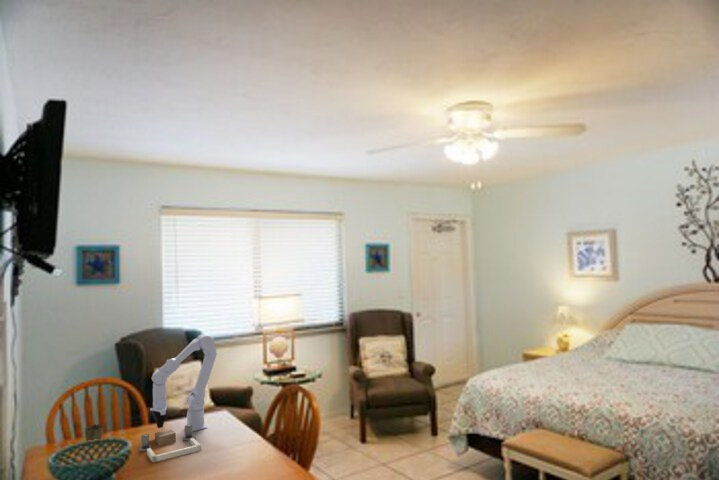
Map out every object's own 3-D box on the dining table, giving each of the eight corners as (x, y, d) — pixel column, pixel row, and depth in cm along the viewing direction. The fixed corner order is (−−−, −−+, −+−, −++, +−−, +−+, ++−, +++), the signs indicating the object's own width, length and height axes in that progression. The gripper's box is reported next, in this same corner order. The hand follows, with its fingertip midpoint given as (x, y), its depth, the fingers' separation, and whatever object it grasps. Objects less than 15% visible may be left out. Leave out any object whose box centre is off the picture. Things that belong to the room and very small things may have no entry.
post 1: (138, 449, 203) (137, 435, 203) (150, 446, 205) (150, 432, 206) (140, 452, 198) (139, 438, 199) (152, 449, 201) (152, 435, 202)
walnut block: (154, 442, 211) (154, 433, 211) (170, 438, 216) (170, 429, 216) (159, 446, 206) (159, 436, 206) (175, 441, 210) (175, 432, 210)
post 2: (181, 439, 213) (181, 425, 213) (192, 436, 216) (192, 422, 216) (184, 442, 209) (184, 428, 209) (196, 439, 212) (195, 425, 212)
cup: (80, 447, 209) (80, 428, 209) (94, 441, 216) (94, 423, 216) (94, 448, 207) (93, 429, 207) (107, 442, 214) (107, 424, 214)
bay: (146, 454, 197) (146, 449, 197) (193, 442, 208) (193, 437, 208) (152, 462, 187) (152, 457, 187) (201, 450, 198) (201, 445, 198)
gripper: (147, 396, 223) (147, 425, 222) (153, 402, 211) (154, 433, 210) (163, 393, 227) (163, 422, 226) (170, 399, 215) (170, 429, 214)
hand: (160, 427), depth 219 cm, fingers closed
